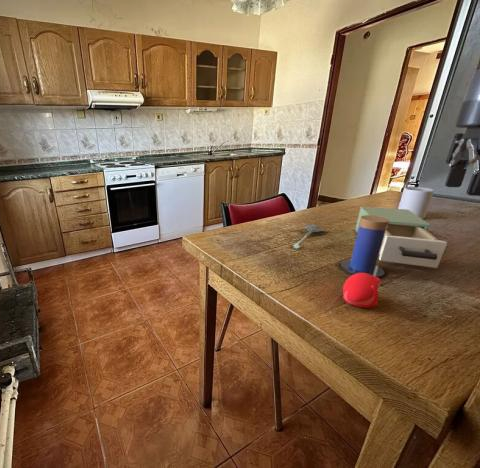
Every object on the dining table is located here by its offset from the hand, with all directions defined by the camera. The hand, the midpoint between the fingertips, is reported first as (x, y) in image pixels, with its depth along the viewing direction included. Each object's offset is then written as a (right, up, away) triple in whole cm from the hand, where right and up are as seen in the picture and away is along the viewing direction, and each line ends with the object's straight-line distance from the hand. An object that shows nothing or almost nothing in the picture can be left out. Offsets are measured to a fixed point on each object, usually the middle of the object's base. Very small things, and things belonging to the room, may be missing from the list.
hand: (462, 190), depth 49 cm
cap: (-17, -23, +4) cm, 29 cm away
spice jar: (-8, -17, +16) cm, 24 cm away
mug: (+41, -1, +54) cm, 68 cm away
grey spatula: (-11, -10, +36) cm, 39 cm away
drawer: (+6, -14, +20) cm, 25 cm away
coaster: (-8, -17, +16) cm, 25 cm away
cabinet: (+12, -10, +32) cm, 36 cm away
